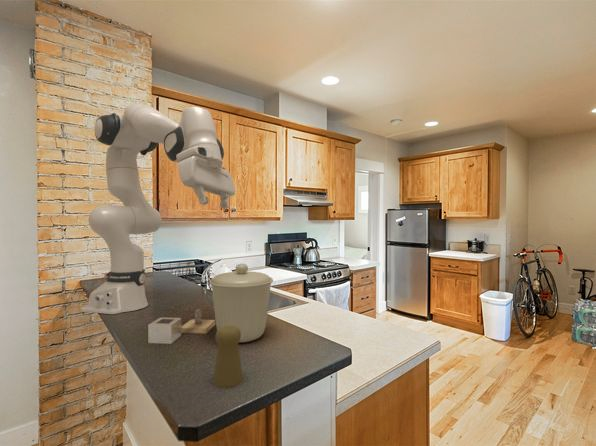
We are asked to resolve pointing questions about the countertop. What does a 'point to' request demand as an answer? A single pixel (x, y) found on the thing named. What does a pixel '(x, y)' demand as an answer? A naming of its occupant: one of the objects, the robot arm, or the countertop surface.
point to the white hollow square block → (164, 330)
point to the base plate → (197, 324)
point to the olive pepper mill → (228, 357)
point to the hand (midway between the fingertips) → (215, 206)
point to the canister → (242, 301)
